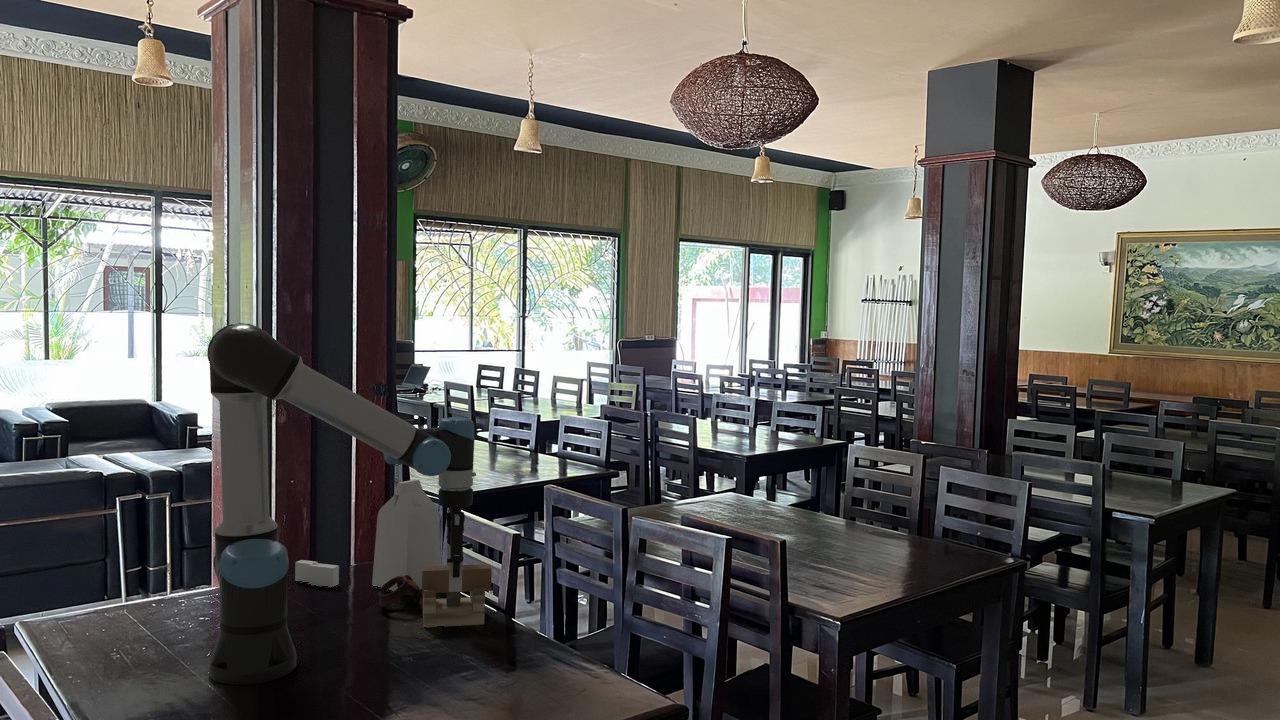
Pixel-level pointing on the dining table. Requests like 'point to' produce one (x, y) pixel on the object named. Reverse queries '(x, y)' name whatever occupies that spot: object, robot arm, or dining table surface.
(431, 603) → the display stand
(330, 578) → the napkin holder
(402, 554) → the milk
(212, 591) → the dining table surface
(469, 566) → the brown wooden block
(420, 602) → the brown looped band sculpture
